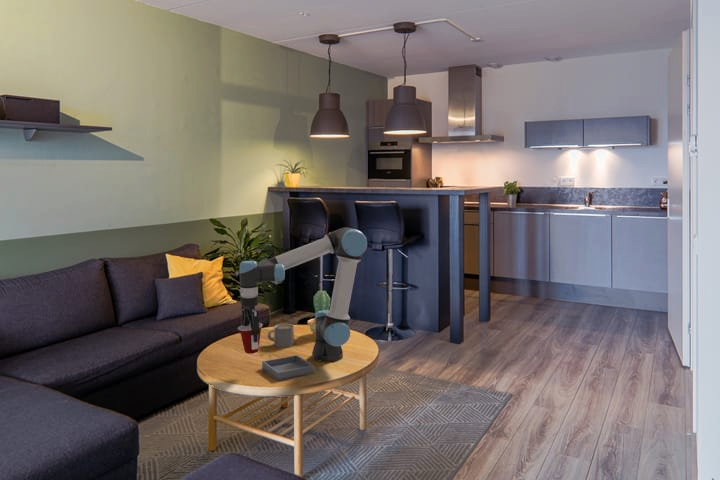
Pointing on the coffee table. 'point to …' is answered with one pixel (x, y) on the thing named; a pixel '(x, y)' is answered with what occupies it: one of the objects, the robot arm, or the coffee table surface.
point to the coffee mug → (282, 335)
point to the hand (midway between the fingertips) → (250, 346)
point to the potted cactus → (319, 307)
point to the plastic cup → (248, 338)
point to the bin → (287, 367)
